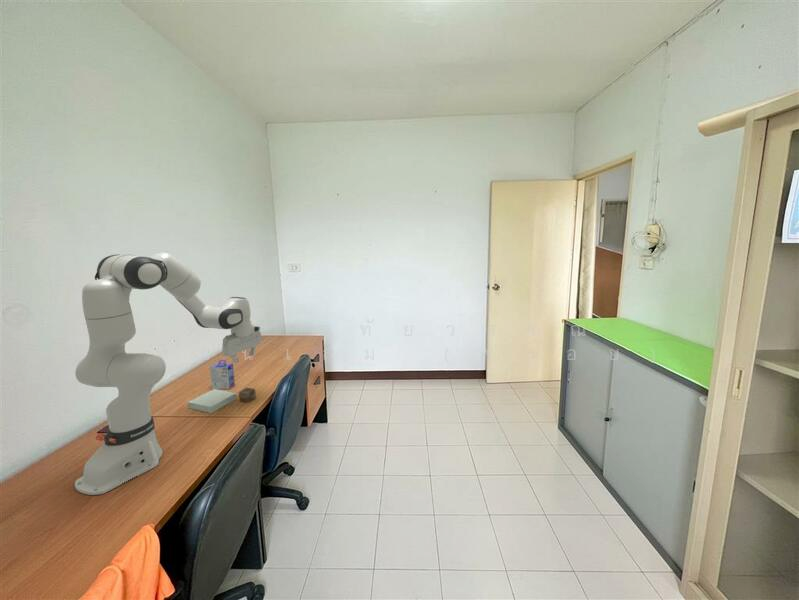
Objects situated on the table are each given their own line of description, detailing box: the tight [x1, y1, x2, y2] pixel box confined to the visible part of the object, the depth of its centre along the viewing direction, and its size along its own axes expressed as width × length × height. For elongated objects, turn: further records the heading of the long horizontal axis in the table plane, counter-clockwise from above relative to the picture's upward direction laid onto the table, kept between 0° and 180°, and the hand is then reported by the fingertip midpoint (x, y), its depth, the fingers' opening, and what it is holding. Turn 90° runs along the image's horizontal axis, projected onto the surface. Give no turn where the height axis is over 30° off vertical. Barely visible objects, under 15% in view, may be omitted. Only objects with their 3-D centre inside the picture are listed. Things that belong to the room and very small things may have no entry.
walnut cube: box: [238, 387, 257, 404], centre depth 152 cm, size 5×5×5 cm
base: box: [187, 389, 237, 414], centre depth 149 cm, size 14×14×3 cm
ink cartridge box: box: [209, 359, 236, 390], centre depth 165 cm, size 10×6×14 cm, turn 89°
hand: (244, 358), depth 149 cm, fingers open, 8 cm apart
